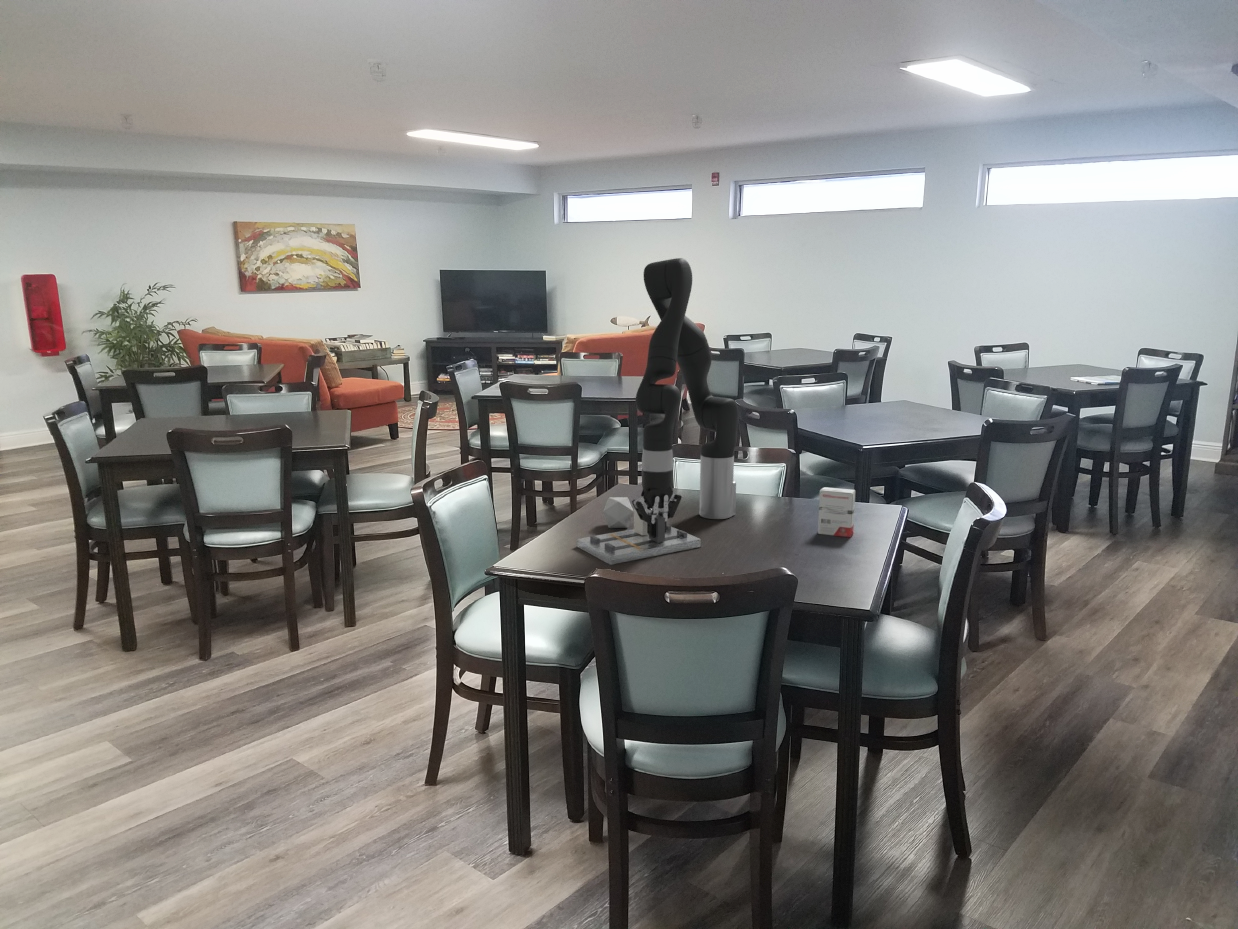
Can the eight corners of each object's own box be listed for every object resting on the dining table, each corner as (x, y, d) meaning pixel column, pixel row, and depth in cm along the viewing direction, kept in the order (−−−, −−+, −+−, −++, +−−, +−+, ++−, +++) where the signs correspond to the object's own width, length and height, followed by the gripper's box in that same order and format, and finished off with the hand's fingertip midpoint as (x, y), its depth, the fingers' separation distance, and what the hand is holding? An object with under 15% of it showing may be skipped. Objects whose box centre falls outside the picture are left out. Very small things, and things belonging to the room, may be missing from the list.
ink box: (854, 533, 220) (856, 489, 217) (850, 538, 215) (853, 493, 213) (820, 529, 223) (823, 485, 221) (816, 533, 219) (819, 489, 216)
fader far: (640, 530, 214) (640, 507, 213) (649, 534, 211) (649, 511, 210) (633, 531, 213) (633, 508, 212) (642, 535, 210) (642, 512, 208)
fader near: (655, 537, 208) (655, 513, 207) (664, 541, 205) (665, 517, 204) (648, 538, 207) (649, 515, 206) (657, 542, 204) (658, 518, 203)
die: (622, 535, 220) (642, 504, 221) (594, 518, 220) (614, 487, 222) (622, 537, 228) (640, 507, 229) (595, 520, 228) (613, 490, 230)
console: (664, 530, 221) (664, 519, 221) (700, 546, 208) (701, 534, 207) (577, 546, 208) (577, 534, 207) (610, 564, 195) (610, 551, 194)
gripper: (672, 461, 209) (671, 528, 212) (624, 467, 202) (624, 536, 205) (690, 466, 203) (688, 535, 206) (641, 473, 195) (641, 544, 199)
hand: (656, 536), depth 206 cm, fingers closed on fader near, 2 cm apart
